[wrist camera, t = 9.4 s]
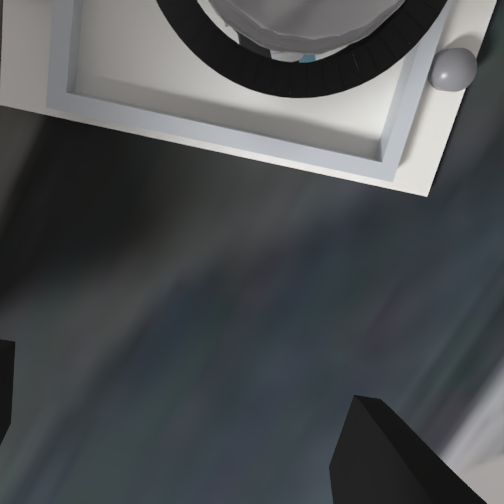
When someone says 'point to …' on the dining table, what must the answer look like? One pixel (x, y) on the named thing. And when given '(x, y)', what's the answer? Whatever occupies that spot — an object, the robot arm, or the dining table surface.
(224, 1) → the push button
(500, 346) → the dining table surface
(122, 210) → the dining table surface
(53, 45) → the tray
